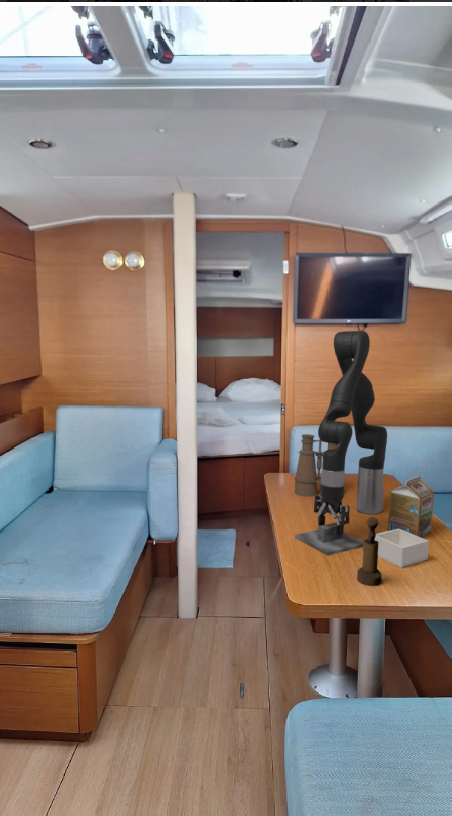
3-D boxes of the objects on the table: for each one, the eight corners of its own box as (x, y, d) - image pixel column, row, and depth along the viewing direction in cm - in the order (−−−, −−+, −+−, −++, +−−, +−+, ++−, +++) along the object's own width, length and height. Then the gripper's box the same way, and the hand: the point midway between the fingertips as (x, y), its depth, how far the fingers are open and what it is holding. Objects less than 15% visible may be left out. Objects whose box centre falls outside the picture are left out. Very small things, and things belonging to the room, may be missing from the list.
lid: (331, 531, 184) (332, 514, 183) (365, 547, 170) (366, 529, 169) (294, 539, 176) (295, 522, 175) (327, 557, 162) (328, 538, 161)
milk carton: (402, 524, 191) (406, 472, 188) (431, 532, 183) (435, 478, 181) (387, 531, 184) (391, 477, 181) (416, 540, 176) (421, 484, 174)
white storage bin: (397, 546, 170) (398, 528, 169) (427, 559, 160) (429, 540, 159) (371, 553, 164) (372, 534, 163) (401, 567, 154) (402, 548, 154)
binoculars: (340, 490, 230) (343, 434, 227) (344, 497, 220) (347, 438, 217) (292, 489, 231) (294, 432, 227) (294, 496, 221) (297, 437, 218)
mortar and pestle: (353, 575, 149) (357, 513, 147) (376, 574, 150) (380, 513, 147) (361, 586, 143) (365, 521, 140) (385, 585, 143) (389, 521, 141)
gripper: (357, 486, 166) (354, 536, 168) (326, 476, 178) (324, 522, 180) (339, 490, 162) (336, 540, 164) (309, 478, 174) (307, 526, 176)
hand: (330, 531), depth 172 cm, fingers open, 8 cm apart
